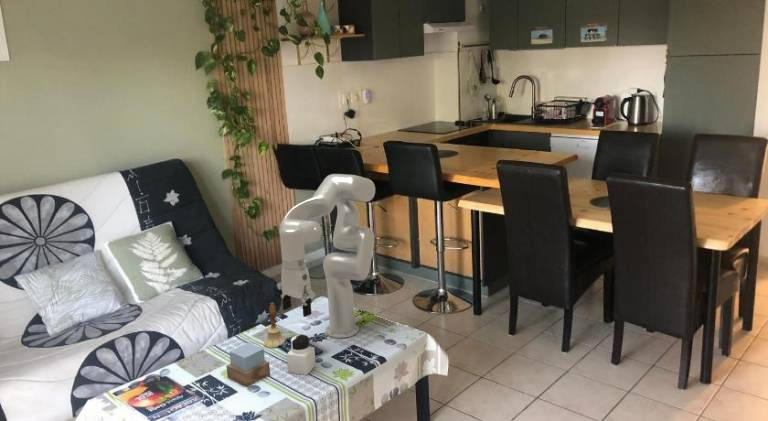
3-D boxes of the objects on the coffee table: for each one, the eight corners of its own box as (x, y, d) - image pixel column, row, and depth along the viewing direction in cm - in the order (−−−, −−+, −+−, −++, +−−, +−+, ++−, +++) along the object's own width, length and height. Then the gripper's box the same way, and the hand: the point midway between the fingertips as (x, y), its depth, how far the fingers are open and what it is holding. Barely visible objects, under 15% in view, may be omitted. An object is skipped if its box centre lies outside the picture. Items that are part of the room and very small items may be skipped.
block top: (249, 355, 226) (248, 342, 225) (265, 362, 221) (263, 348, 220) (230, 365, 220) (229, 351, 219) (246, 371, 215) (244, 358, 214)
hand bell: (270, 337, 250) (267, 298, 246) (289, 339, 248) (286, 300, 244) (259, 346, 243) (255, 306, 239) (279, 349, 240) (276, 309, 236)
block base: (251, 367, 228) (249, 354, 227) (270, 375, 222) (268, 362, 221) (227, 379, 221) (226, 365, 220) (246, 387, 215) (245, 374, 213)
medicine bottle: (315, 365, 227) (313, 333, 224) (307, 375, 221) (304, 342, 218) (297, 363, 229) (294, 331, 226) (287, 372, 223) (285, 340, 220)
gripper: (320, 265, 213) (323, 314, 217) (284, 255, 223) (287, 302, 227) (304, 271, 207) (307, 321, 211) (267, 261, 218) (271, 309, 222)
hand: (297, 312), depth 219 cm, fingers open, 9 cm apart
